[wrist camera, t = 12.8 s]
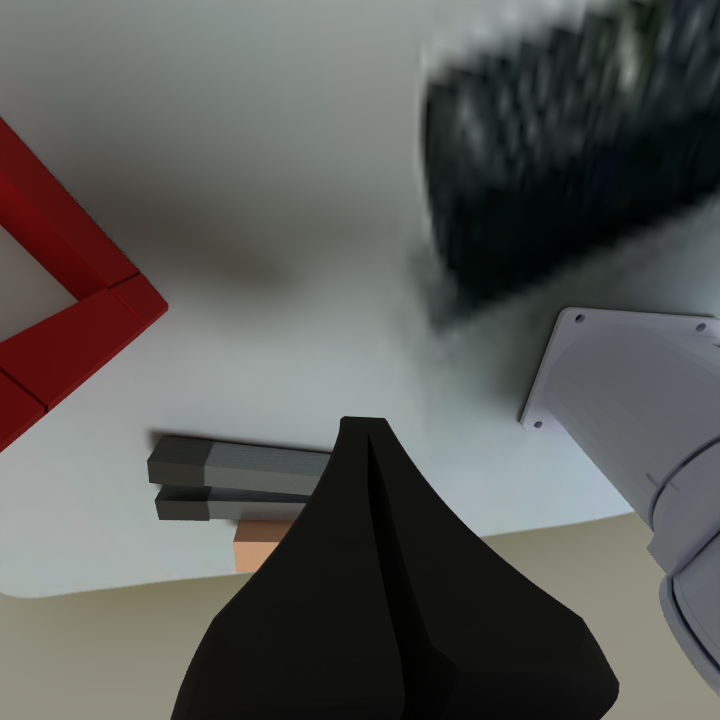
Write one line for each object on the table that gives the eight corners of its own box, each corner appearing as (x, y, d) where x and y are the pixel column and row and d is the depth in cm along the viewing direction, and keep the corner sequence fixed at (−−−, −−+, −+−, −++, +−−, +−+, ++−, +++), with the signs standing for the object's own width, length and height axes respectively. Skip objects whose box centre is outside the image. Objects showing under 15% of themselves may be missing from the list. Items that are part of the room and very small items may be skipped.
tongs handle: (370, 480, 25) (372, 505, 23) (367, 498, 26) (370, 523, 24) (169, 474, 24) (154, 500, 22) (172, 493, 25) (159, 519, 23)
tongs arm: (422, 463, 24) (429, 489, 22) (411, 496, 26) (417, 523, 24) (163, 435, 22) (146, 461, 20) (166, 473, 23) (150, 500, 21)
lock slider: (303, 503, 25) (299, 542, 23) (302, 532, 27) (298, 572, 24) (244, 501, 25) (233, 541, 22) (246, 531, 26) (236, 571, 24)
